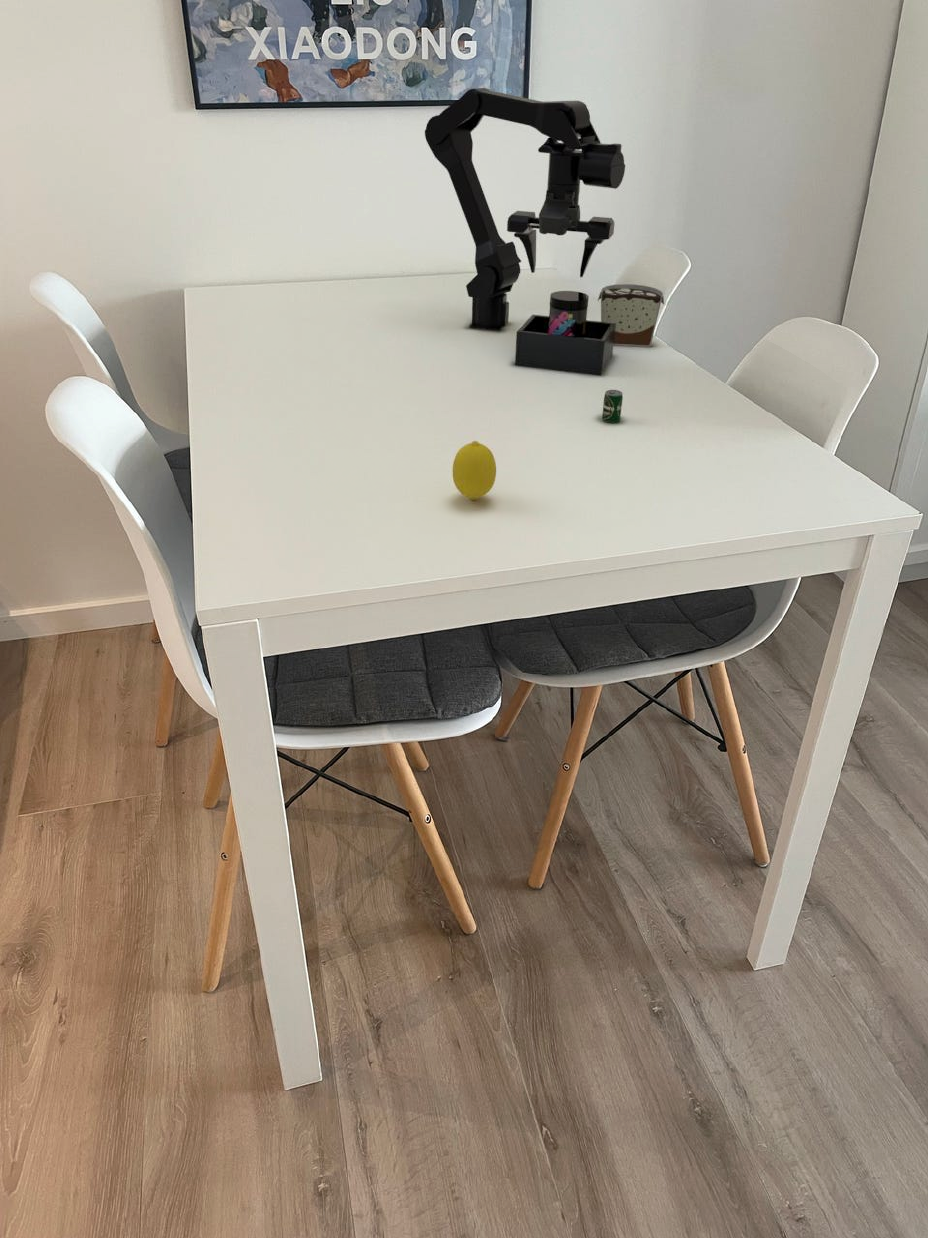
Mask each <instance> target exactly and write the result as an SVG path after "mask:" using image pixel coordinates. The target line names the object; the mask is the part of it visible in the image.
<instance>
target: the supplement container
mask: <svg viewBox="0 0 928 1238" xmlns="http://www.w3.org/2000/svg"><path fill="white" fill-rule="evenodd" d="M589 298H590V296H589V295H588V294H587V293H584V292H581V291H575V290H557V291H554V292H551V293H550V295H549V312H548V316H549V324H548V334H556V335H565V336H574V337H583V338H585V329H586V320H587V317H588V307H589Z"/></svg>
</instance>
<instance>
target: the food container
mask: <svg viewBox="0 0 928 1238" xmlns="http://www.w3.org/2000/svg"><path fill="white" fill-rule="evenodd" d="M599 301H600V322H608V323H616V328H615V337H614V346H623V347H644V348H651V346H652V342H653V338H654V333H655V329H656V326H657V322H658V318H659V313H660V309H661V304H662V305H663V306H664V305H665V296H664V293H663V291H662V290H660V289H659V288H656V287H652V286H649V285H643V284H634V283H619V284H618V283H617V284H609V285H606V286H604V287H602V288H601V291H600V292H599V295H598V298H597V302H599Z"/></svg>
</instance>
